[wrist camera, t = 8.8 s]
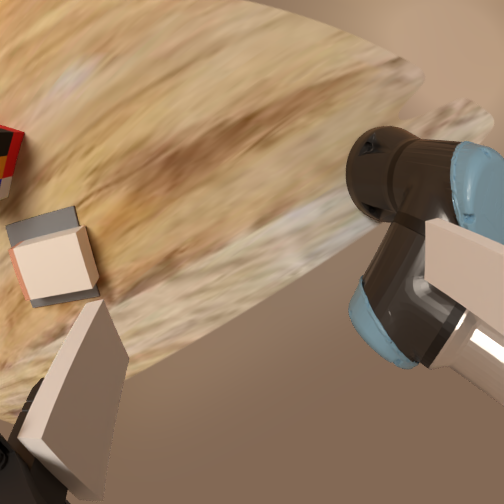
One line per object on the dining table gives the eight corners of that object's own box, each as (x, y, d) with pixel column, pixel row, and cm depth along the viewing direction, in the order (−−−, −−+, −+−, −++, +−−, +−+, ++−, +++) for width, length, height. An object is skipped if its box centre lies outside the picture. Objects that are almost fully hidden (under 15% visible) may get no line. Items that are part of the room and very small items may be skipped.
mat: (74, 205, 40) (73, 206, 39) (99, 295, 44) (99, 296, 44) (6, 225, 38) (5, 226, 38) (33, 306, 43) (33, 307, 42)
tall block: (75, 232, 37) (8, 250, 35) (92, 288, 39) (25, 300, 38) (84, 225, 40) (20, 241, 39) (99, 277, 43) (35, 289, 42)
